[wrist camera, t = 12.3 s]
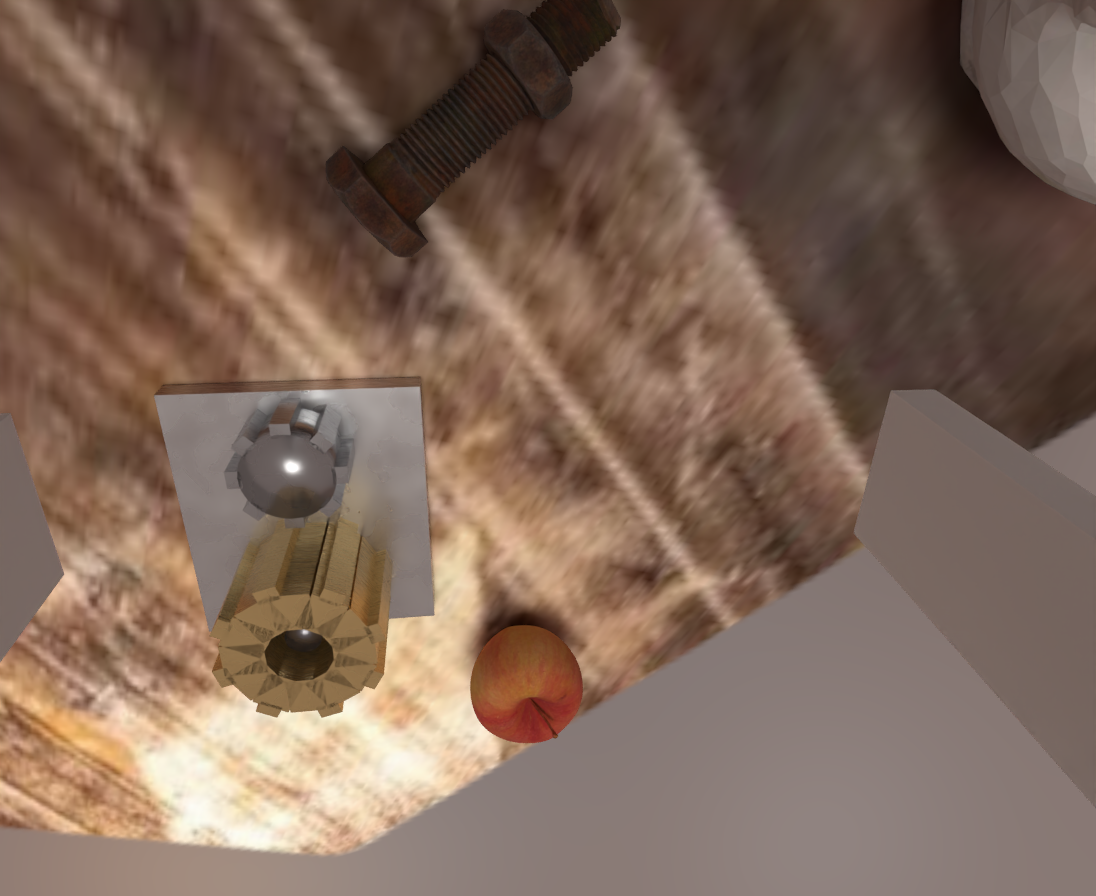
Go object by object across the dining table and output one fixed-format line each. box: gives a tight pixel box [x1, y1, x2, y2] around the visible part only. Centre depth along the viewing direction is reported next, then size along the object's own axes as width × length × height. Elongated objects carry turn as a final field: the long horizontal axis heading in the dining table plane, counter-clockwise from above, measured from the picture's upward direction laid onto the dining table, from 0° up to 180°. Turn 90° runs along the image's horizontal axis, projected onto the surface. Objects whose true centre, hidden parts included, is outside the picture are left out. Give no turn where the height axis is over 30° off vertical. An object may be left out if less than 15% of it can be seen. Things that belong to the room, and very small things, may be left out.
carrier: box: [154, 377, 434, 652], centre depth 42 cm, size 16×14×7 cm
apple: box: [470, 625, 583, 743], centre depth 49 cm, size 7×7×8 cm
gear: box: [210, 517, 393, 718], centre depth 43 cm, size 9×9×7 cm
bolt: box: [326, 0, 621, 257], centre depth 35 cm, size 6×5×15 cm
